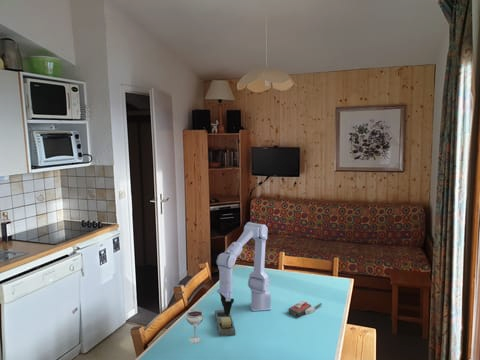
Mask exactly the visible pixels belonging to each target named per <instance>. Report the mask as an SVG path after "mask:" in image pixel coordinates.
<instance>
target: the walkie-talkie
mask: <svg viewBox="0 0 480 360" xmlns="http://www.w3.org/2000/svg"><path fill="white" fill-rule="evenodd" d="M321 305H323V303H322V302H320V303H318V304H317V305H315V306H312V304H310V303H308V302H307V301H305V300H301V301H299V302H297V303H296V304H294V305H292V306H290V307H288V314H289V315H291V316H293V317H296V318H301V317H302V316H304V315H312V314H313V313H315V312H316V309H318V308H319V307H321Z"/></svg>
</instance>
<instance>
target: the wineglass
mask: <svg viewBox="0 0 480 360" xmlns="http://www.w3.org/2000/svg"><path fill="white" fill-rule="evenodd" d="M203 313H204V312H203V311H202V310H201V309H199V308H198V309H195V308H194V309H189V310H188V311H187V312H186V314H187V316H186V321H187V324H189V325H190V326H193V331H194V332H193V333H194V336H192V337H190V338H189V343H191V344H197V342H198V343H200V342H201V341H200V338H201V337H200V336H196V334H197V333H196V331H197V326H198V325H200V324H201V323H202V322H203V319H204V317H203ZM199 341H200V342H199Z"/></svg>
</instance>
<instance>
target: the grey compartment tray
mask: <svg viewBox="0 0 480 360" xmlns="http://www.w3.org/2000/svg"><path fill="white" fill-rule="evenodd" d="M214 317H215V321H216V322H215V323H216V327H217V332H218V336H219V337H228V336H229V337H230V336H236V329H235V327H236V326H235V324H234V320H233V318H232V314H231V313H230V314H225V313H224V309H218V310H217V309H216V310H214ZM222 317H230V319H231V328H229V329H221V318H222Z"/></svg>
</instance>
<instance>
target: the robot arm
mask: <svg viewBox="0 0 480 360" xmlns="http://www.w3.org/2000/svg"><path fill="white" fill-rule="evenodd" d="M268 229H269V228H268V227H267V225H266V224H262V223H255V222H252V221H251V222H250V221H248V222H246V224H245V225H244V227H243V232H242V233H241V235H240V236H239V238H238V239H237V240H236V241H233V242H232V243H231V244H230V245H229V246H228V247H227V248H226V249H225V250H224V252H221V253H220V254H218V255H217V259H216V265H217V268H218V270H219V272H218V274H219V280H218V281H219V289H216V293H217V294H219V295H220V302H221V306H222V307H223V310H224V313H225V314H231V309H232V306H233V304H234V302H235V299H234V298H231V296H232V294H233V292H234V290H233V267H234V266H235V265H236V264H235V263H236V261H237V258H238V256H239V255H240V254H241V253H242V252H243V246H245V245H246V244H247V242H249V240H251V239H253V240H254V259H253V271H251V273H249V275H248V276H249V278H248V280H247V287H248V288H250V290H249V291H251V292H250V293H251V298H250V300H251V302H250V303H249V306H250V309H251V311H252V312H260V311H271V310H272V308H271V306H272V305H271V301H272V299H271V297H272V296H271V291H270V286H271V283H270V278H269V275H268V273H266V271H265V263H266V261H265V260H266V259H265V258H266V245H267V244H266V242H267V240H268Z"/></svg>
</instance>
